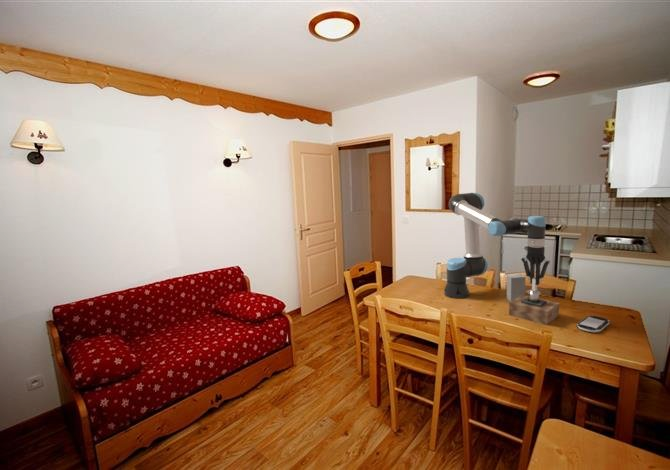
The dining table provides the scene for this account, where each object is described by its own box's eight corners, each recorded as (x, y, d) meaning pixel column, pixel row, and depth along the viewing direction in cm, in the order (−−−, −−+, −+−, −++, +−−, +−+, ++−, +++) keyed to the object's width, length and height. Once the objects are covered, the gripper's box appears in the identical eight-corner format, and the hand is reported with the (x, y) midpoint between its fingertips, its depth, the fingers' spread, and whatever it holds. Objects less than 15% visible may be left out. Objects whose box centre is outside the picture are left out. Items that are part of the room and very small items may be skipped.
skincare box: (520, 298, 193) (520, 273, 191) (525, 302, 186) (526, 276, 184) (505, 298, 194) (506, 273, 191) (510, 302, 187) (511, 276, 184)
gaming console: (596, 336, 144) (597, 331, 144) (573, 329, 152) (574, 324, 151) (611, 323, 155) (612, 318, 154) (589, 318, 162) (589, 313, 162)
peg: (528, 305, 168) (528, 290, 167) (531, 303, 171) (531, 288, 169) (536, 307, 165) (537, 292, 164) (539, 305, 167) (540, 290, 166)
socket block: (508, 314, 171) (509, 300, 170) (521, 306, 180) (522, 293, 179) (547, 325, 157) (547, 309, 156) (558, 315, 166) (559, 301, 165)
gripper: (519, 246, 166) (518, 289, 169) (547, 248, 156) (545, 294, 159) (525, 243, 170) (524, 286, 174) (553, 246, 160) (551, 291, 164)
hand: (534, 290), depth 166 cm, fingers closed
